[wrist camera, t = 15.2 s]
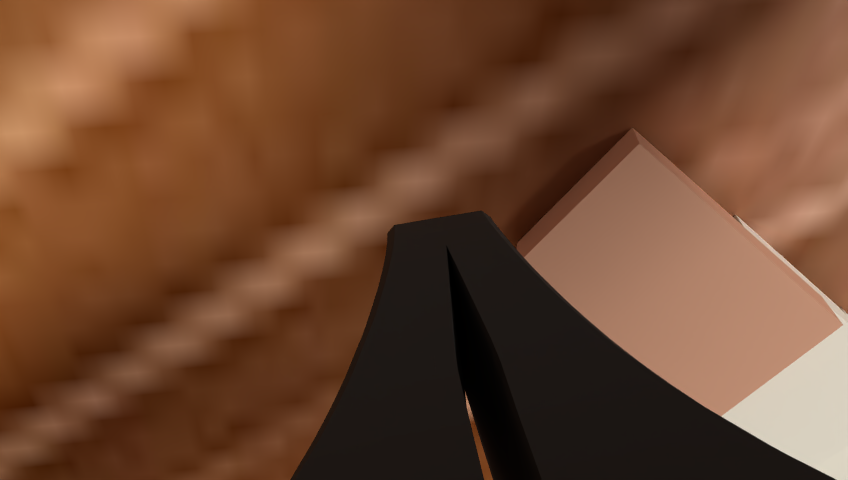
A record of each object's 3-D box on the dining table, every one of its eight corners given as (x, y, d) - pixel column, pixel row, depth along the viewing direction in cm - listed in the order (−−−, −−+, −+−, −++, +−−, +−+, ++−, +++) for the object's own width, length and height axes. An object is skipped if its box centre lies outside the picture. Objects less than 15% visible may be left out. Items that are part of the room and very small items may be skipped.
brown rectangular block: (514, 266, 22) (707, 426, 23) (639, 143, 20) (843, 324, 21) (517, 243, 23) (696, 393, 24) (632, 127, 21) (821, 296, 23)
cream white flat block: (628, 338, 24) (796, 479, 25) (750, 236, 22) (926, 393, 23) (622, 313, 26) (781, 446, 27) (735, 214, 24) (900, 363, 25)
